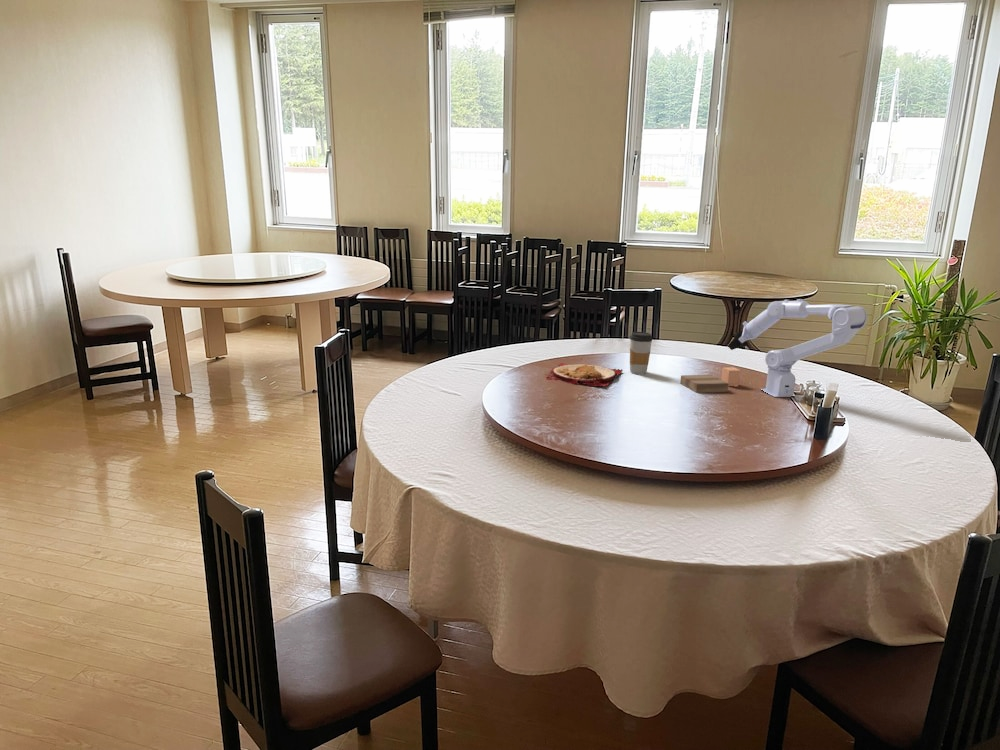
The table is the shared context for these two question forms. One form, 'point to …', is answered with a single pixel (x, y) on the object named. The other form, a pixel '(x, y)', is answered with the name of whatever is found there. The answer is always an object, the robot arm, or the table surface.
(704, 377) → the walnut stand
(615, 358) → the table surface
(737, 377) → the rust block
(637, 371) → the coffee cup
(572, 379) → the plate with food
